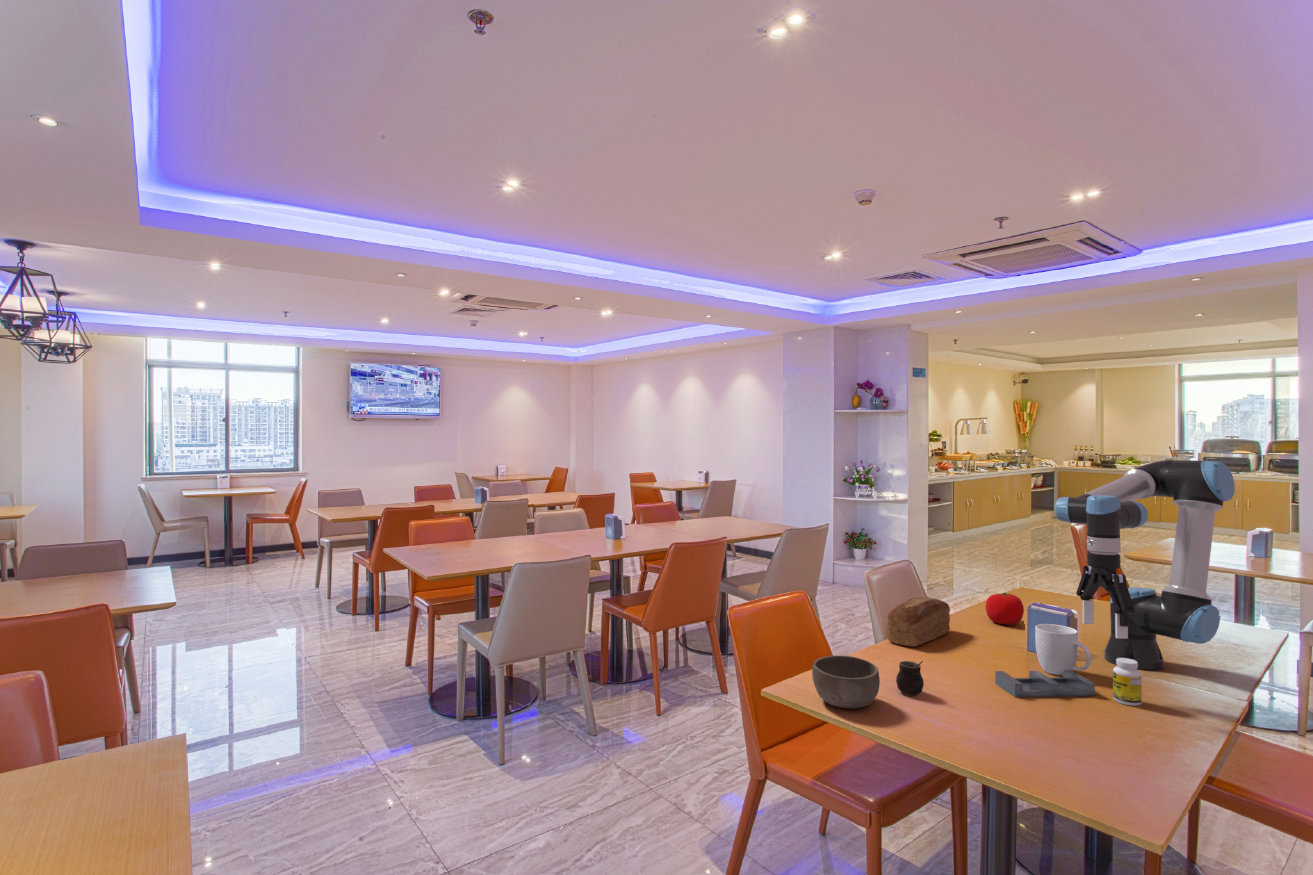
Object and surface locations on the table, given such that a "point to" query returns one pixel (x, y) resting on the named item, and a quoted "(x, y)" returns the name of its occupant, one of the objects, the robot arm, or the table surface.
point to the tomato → (1004, 609)
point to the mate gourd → (909, 678)
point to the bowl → (846, 681)
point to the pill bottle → (1127, 682)
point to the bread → (918, 621)
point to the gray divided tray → (1046, 685)
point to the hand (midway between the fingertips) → (1104, 630)
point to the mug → (1058, 648)
